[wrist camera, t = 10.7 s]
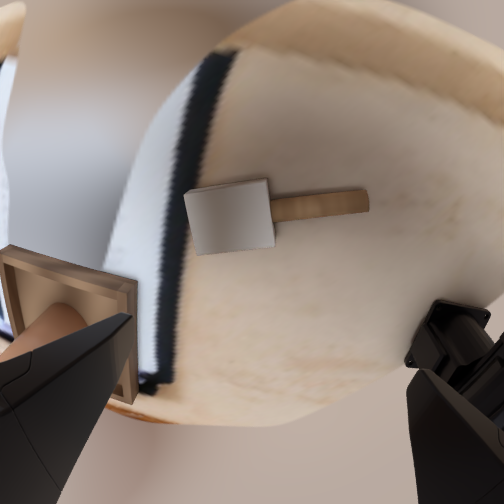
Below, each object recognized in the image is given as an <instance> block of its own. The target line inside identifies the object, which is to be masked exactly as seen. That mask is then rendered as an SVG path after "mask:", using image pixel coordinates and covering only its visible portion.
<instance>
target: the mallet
mask: <svg viewBox="0 0 504 504" xmlns="http://www.w3.org/2000/svg"><path fill="white" fill-rule="evenodd" d="M184 200H185V205H186V209H187V214H188V219H189V223H190V228H191V232H192V237H193V241H194V246H195V250H196V254H197V256H200V255H208V254H217V253H226V252H234V251H243V250H251V249H260V248H269V247H275V244H276V236H275V229H274V222H282V221H291V220H299V219H308V218H316V217H325V216H334V215H344V214H353V213H362V212H368V211H369V198H368V194H367V191H366V190H356V191H345V192H336V193H326V194H317V195H308V196H300V197H291V198H283V199H275V200H270V194H269V188H268V181H267V178H263V179H256V180H249V181H242V182H235V183H229V184H222V185H216V186H210V187H203V188H198V189H192V190H189V191H188V192H187V193H185V194H184Z"/></svg>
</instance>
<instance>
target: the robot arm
mask: <svg viewBox="0 0 504 504" xmlns="http://www.w3.org/2000/svg"><path fill="white" fill-rule="evenodd" d="M438 306H440V307H439V308H437V307H438ZM485 315H486V316H485ZM490 316H491V313H490V312H489V311H488V310H487V309H482V308H477V307H472V306H467V305H462V304H457V303H452V302H447V301H442V300H437V301H435V302H434V303H433V305H432V307H431V309H430V312H429V314H428V316H427V318H426V320H425V322H424V324H423V325H422V327H421V329H420V331H419V333H418V335H417V337H416V339H415V341H414V343H413V345H412V347H411V348H410V351H409V353H408V355H407V357H406V359H405V361H404V363H405V365H406V367H408V368H419V370H418V371H417V372H416V374H415V376H414V377H413V379H412V380H411V382H410V384H409V385H408V387H407V391H406V397H407V408H408V423H409V434H410V441H411V447H412V453H413V460H414V468H415V477H416V485H417V494H418V504H504V332H503V333H502V335H501V336H500V339H499V340H498V341H497V342H496V343H494V342H493V341H492V339H491V338H490V337H489V336H488V334H487V333H486V332H485V330H484V328H485V326H486V324H487V323H488V321H489V319H490ZM134 340H135V319H134V316H133V315H131V314H128V313H124V312H120V313H117V314H115V315H113V316H110V317H108V318H106V319H103V320H101V321H99V322H96V323H94V324H92V325H90V326H87V327H85V328H83V329H80V330H78V331H76V332H73V333H71V334H69V335H66V336H64V337H62V338H59V339H57V340H55V341H52V342H50V343H48V344H45V345H43V346H41V347H38V348H36V349H33V351H29V352H26V353H24V354H22V355H19V356H17V357H14V358H12V359H9V360H6V361H3V362H0V504H56V503H57V501H58V499H59V497H60V495H61V491H62V490H63V488H64V485H65V484H66V482H67V479H68V477H69V476H70V474H71V472H72V469H73V467H74V465H75V463H76V461H77V459H78V457H79V456H80V454H81V451H82V450H83V448H84V446H85V444H86V442H87V440H88V438H89V436H90V434H91V432H92V430H93V428H94V426H95V424H96V423H97V421H98V419H99V417H100V415H101V413H102V411H103V409H104V408H105V406H106V404H107V402H108V400H109V398H110V396H111V395H112V393H113V391H114V389H115V387H116V385H117V383H118V381H119V379H120V376H121V374H122V371H123V369H124V366H125V364H126V361H127V359H128V356H129V354H130V351H131V349H132V347H133V344H134ZM410 361H411V362H410Z"/></svg>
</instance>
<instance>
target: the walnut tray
mask: <svg viewBox="0 0 504 504" xmlns="http://www.w3.org/2000/svg"><path fill="white" fill-rule="evenodd" d="M0 277H1V283H2V288H3V293H4V298H5V303H6V308H7V312H8V316H9V320H10V324H11V328H12V332H13V336H14V339H16V338H17V337H18V336H19V335H20V334H21V333H22V332H23V331H24V330H25V329H26V328H27V327H28V326H29V325H30V324H31V323H32V322H33V321H35V320H36V319H37V318H38V317H39V316H40V315H41V314H42V313H43V312H44V311H45V310H46V309H47V308H48V307H49V306H50V305H51V304H53V303H64V304H67V305H69V306H71V307H72V308H74V309H75V310H76V311H77V312H78V313H79V314H80V315H81V316H82V317H83V319H84V320H85V322H86V324H87V325H88V326H90V325H92V324H94V323H96V322H99V321H101V320H103V319H106V318H108V317H110V316H113V315H115V314H117V313H120V312H124V313H128V314H131V315H133V316H134V319H135V340H134V344H133V347H132V349H131V351H130V354H129V356H128V359H127V361H126V364H125V366H124V369H123V371H122V374H121V376H120V379H119V381H118V383H117V385H116V387H115V389H114V391H113V393H112V395H111V396H110V398H113V399H115V400H118V401H121V402H124V403H127V404H130V405H132V404H133V402H134V400H135V398H136V396H137V394H138V392H139V384H138V361H137V281H135V280H131V279H127V278H123V277H119V276H116V275H112V274H108V273H105V272H101V271H97V270H94V269H90V268H87V267H83V266H80V265H76V264H72V263H69V262H66V261H62V260H59V259H56V258H52V257H49V256H46V255H43V254H39V253H36V252H33V251H29V250H26V249H23V248H20V247H17V246H14V245H11V244H10V245H8V246H6V247H5V248H3V249H1V250H0Z"/></svg>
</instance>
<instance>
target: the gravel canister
mask: <svg viewBox="0 0 504 504" xmlns="http://www.w3.org/2000/svg"><path fill="white" fill-rule="evenodd" d="M87 326H88V325H87V324H86V322H85V320H84V319H83V317H82V316H81V315H80V314H79V313H78V312H77V311H76V310H75V309H74V308H72V307H71V306H69V305H67V304H64V303H53V304H51V305H50V306H49V307H48V308H47V309H46V310H45V311H44V312H43V313H42V314H41V315H40V316H39V317H38V318H37V319H36V320H35V321H33V322H32V323H31V324H30V325H29V326H28V327H27V328H26V329H25V330H24V331H23V332H22V333H21V334H20V335H19V336H18V337H17V338H16V339H15V340H14V341H13V342H12V343H11V344H10V345H9V347H8V348H7V349H6V350H5V351H4V352H3V353H2V354H1V355H0V362H3V361H6V360H9V359H12V358H14V357H17V356H19V355H22V354H24V353H26V352H29V351H33V349H36V348H38V347H41V346H43V345H45V344H48V343H50V342H52V341H55V340H57V339H59V338H62V337H64V336H66V335H69V334H71V333H73V332H76V331H78V330H80V329H83V328H85V327H87Z"/></svg>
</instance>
